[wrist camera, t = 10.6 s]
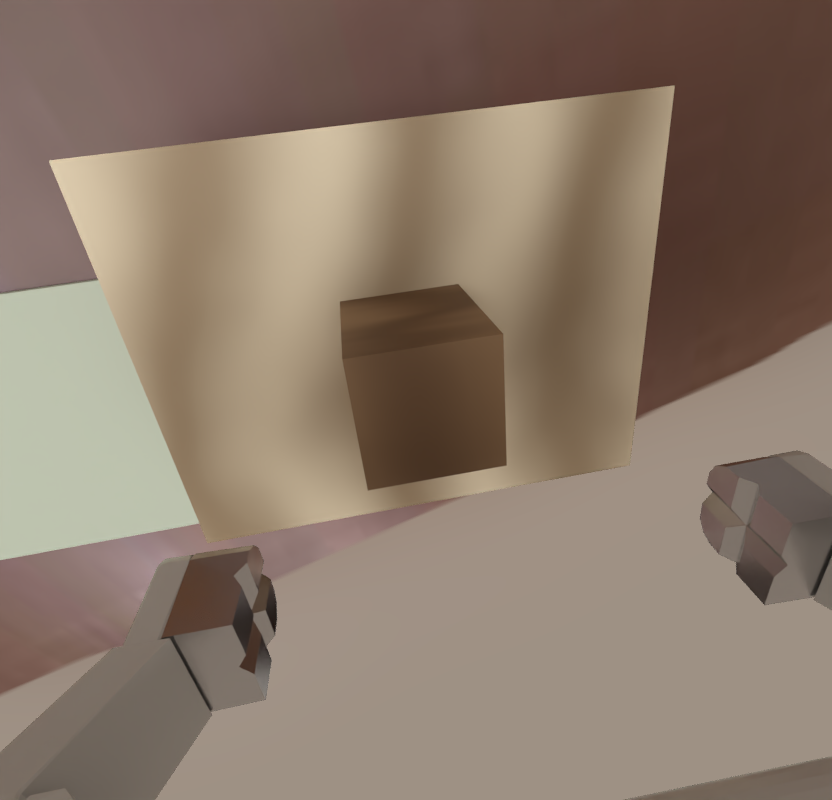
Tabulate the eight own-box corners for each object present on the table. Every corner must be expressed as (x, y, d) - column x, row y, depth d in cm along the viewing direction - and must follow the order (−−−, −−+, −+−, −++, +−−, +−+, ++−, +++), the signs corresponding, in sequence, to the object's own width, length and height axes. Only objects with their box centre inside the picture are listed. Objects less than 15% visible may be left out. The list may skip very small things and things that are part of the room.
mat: (202, 263, 25) (200, 265, 25) (278, 505, 33) (277, 509, 32) (-175, 318, 24) (-182, 320, 24) (-6, 557, 31) (-9, 561, 31)
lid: (655, 89, 16) (819, 60, 10) (618, 452, 22) (706, 547, 17) (66, 159, 14) (-91, 167, 9) (213, 526, 21) (171, 655, 16)
